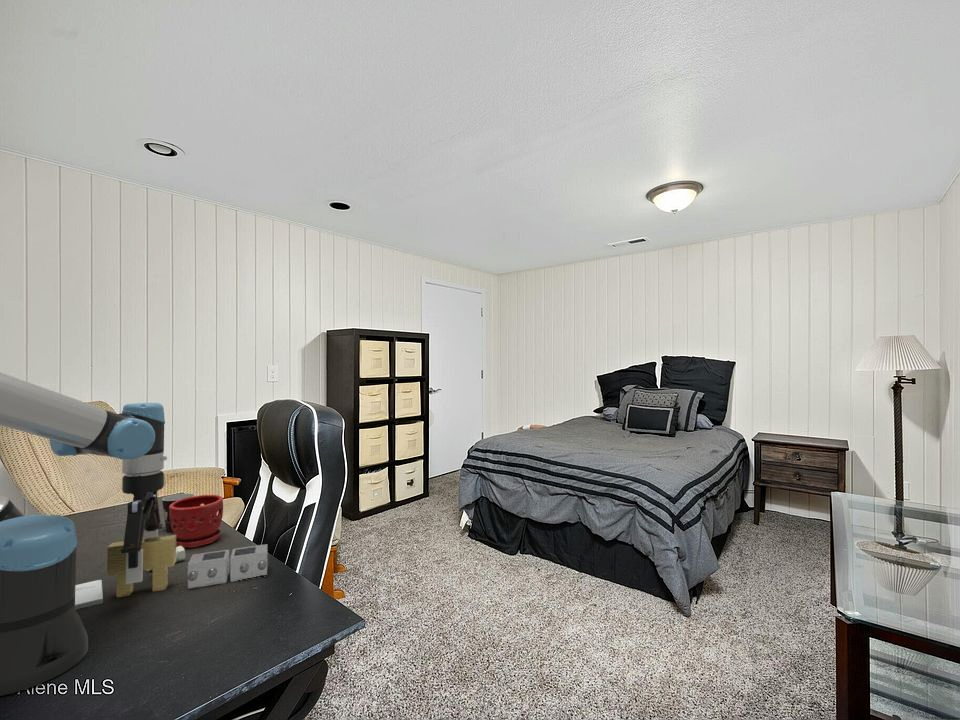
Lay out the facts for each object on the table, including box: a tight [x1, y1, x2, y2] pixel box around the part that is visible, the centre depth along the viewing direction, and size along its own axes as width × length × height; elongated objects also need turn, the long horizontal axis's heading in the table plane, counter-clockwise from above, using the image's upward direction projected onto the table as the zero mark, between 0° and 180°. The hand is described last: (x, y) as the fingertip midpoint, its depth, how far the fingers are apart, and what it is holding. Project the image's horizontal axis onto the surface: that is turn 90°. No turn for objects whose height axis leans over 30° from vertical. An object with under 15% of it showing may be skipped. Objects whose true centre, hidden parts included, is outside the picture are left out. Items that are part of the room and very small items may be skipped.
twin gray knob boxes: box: [187, 543, 268, 590], centre depth 110 cm, size 7×16×6 cm, turn 113°
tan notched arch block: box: [106, 534, 177, 599], centre depth 104 cm, size 3×12×11 cm, turn 113°
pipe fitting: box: [145, 546, 186, 572], centre depth 118 cm, size 8×4×7 cm
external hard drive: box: [75, 579, 104, 610], centre depth 101 cm, size 2×8×12 cm
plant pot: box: [169, 494, 224, 549], centre depth 134 cm, size 13×13×12 cm
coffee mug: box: [161, 492, 196, 534], centre depth 144 cm, size 12×9×10 cm
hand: (142, 570), depth 104 cm, fingers open, 12 cm apart
